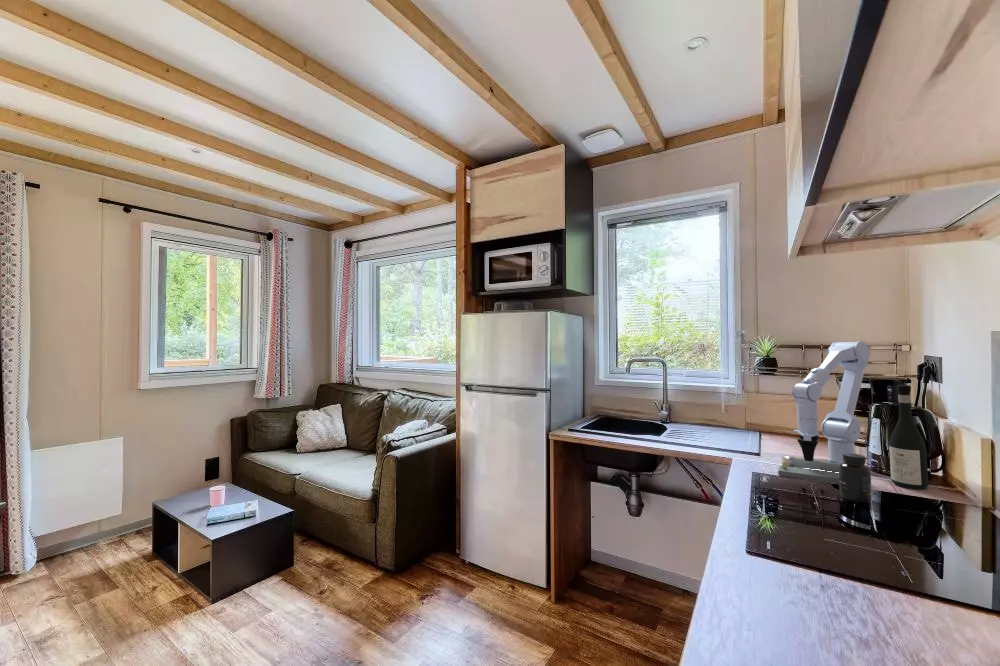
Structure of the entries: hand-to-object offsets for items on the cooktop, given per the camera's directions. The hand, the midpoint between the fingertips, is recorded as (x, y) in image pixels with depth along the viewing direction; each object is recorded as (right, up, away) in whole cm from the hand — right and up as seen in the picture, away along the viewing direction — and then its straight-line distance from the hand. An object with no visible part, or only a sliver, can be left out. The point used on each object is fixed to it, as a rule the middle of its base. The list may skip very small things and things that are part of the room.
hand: (809, 458), depth 145 cm
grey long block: (0, -4, 0) cm, 4 cm away
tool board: (-3, -4, -9) cm, 10 cm away
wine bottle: (+17, -3, -18) cm, 25 cm away
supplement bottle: (-7, -3, -27) cm, 28 cm away
